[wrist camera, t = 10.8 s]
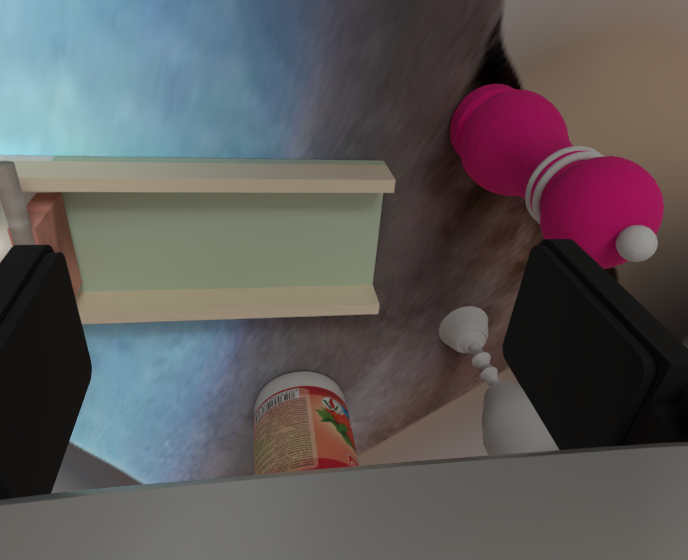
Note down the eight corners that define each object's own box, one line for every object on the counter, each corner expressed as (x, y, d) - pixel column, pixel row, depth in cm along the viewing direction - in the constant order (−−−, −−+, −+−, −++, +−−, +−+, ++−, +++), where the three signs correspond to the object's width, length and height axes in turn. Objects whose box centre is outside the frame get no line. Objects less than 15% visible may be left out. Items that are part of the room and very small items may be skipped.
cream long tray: (-71, 154, 36) (-141, 203, 30) (383, 160, 42) (409, 203, 35) (-19, 298, 43) (-67, 364, 36) (369, 287, 48) (388, 344, 42)
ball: (41, 221, 38) (-1, 209, 39) (-10, 245, 35) (-54, 231, 36) (53, 269, 40) (14, 256, 41) (6, 295, 37) (-35, 280, 38)
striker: (15, 133, 35) (-90, 224, 24) (53, 134, 36) (-32, 223, 25) (65, 325, 44) (6, 455, 33) (96, 324, 44) (47, 452, 33)
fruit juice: (256, 367, 51) (263, 725, 28) (351, 368, 53) (431, 704, 30) (250, 434, 56) (252, 786, 33) (337, 433, 58) (397, 764, 35)
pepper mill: (523, 165, 44) (691, 307, 27) (439, 172, 43) (559, 321, 26) (540, 73, 40) (747, 174, 23) (447, 78, 39) (594, 186, 22)
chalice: (461, 286, 50) (552, 437, 35) (512, 312, 52) (617, 463, 38) (415, 341, 53) (481, 503, 38) (465, 363, 55) (546, 522, 40)
